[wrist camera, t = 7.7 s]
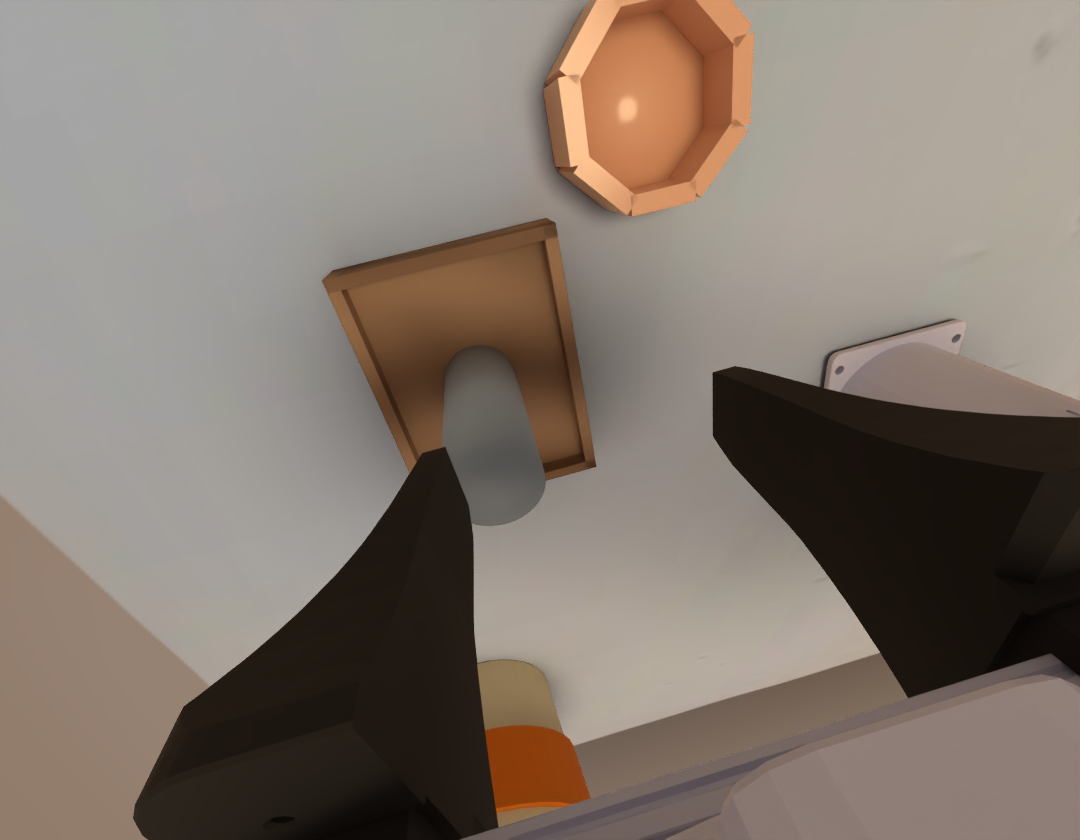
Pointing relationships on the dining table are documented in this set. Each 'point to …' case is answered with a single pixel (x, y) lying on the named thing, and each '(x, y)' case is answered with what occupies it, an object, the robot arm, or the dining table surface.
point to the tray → (469, 335)
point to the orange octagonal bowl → (650, 100)
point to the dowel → (490, 437)
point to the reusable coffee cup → (526, 743)
